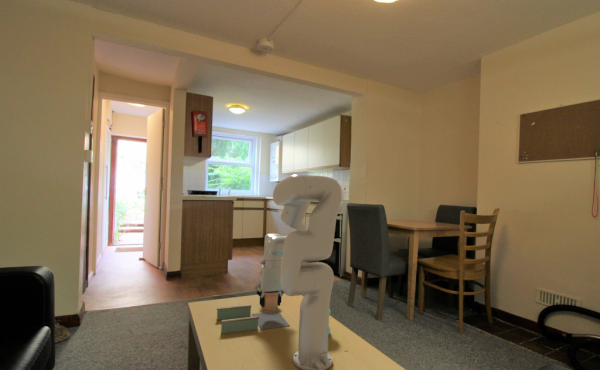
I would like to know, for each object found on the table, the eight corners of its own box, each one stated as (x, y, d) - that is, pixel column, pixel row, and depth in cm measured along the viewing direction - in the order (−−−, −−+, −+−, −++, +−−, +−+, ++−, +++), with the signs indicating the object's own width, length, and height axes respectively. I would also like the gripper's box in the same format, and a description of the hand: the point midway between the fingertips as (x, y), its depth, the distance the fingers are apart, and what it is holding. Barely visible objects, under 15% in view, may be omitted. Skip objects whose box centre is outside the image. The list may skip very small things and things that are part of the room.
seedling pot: (280, 309, 130) (281, 292, 130) (264, 311, 127) (265, 294, 127) (275, 303, 137) (276, 287, 137) (259, 305, 134) (260, 288, 134)
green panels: (258, 329, 122) (258, 317, 122) (221, 333, 117) (221, 321, 117) (250, 315, 136) (250, 304, 136) (216, 318, 130) (216, 307, 130)
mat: (289, 326, 126) (289, 325, 126) (260, 329, 122) (260, 329, 122) (277, 311, 141) (277, 311, 141) (251, 314, 137) (251, 313, 137)
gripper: (254, 266, 125) (252, 311, 125) (294, 264, 132) (292, 306, 132) (250, 261, 132) (248, 304, 132) (288, 260, 139) (286, 300, 139)
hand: (270, 305), depth 132 cm, fingers closed on seedling pot, 6 cm apart
